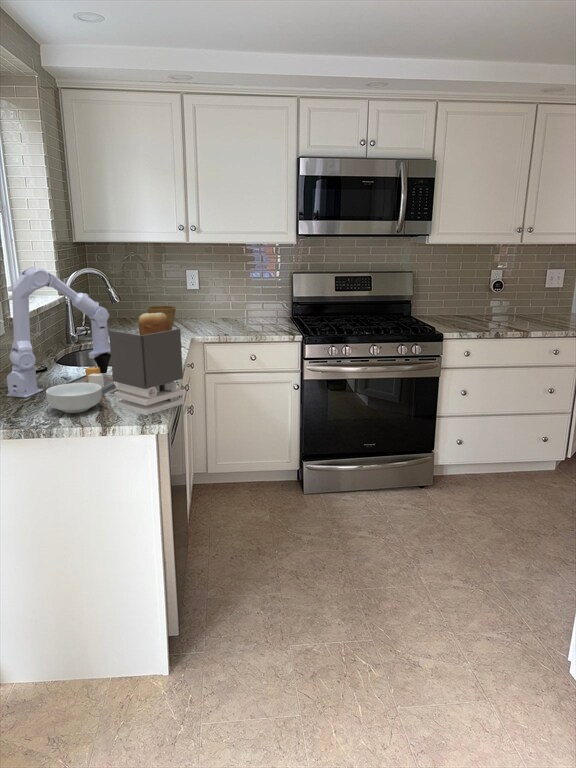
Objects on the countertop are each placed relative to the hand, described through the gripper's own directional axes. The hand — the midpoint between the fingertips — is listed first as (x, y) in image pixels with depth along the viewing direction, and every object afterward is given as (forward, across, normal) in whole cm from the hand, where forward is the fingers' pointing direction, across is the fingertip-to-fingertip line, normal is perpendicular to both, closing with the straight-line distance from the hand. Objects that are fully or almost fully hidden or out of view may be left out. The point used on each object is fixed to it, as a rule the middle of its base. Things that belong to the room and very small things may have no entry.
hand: (103, 372), depth 216 cm
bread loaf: (+3, +12, -17) cm, 21 cm away
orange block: (+1, -7, 0) cm, 7 cm away
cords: (+3, -7, -2) cm, 8 cm away
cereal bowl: (+3, -36, -11) cm, 37 cm away
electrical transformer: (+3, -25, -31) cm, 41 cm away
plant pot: (+3, +90, +18) cm, 92 cm away
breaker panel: (+3, -11, -2) cm, 12 cm away
